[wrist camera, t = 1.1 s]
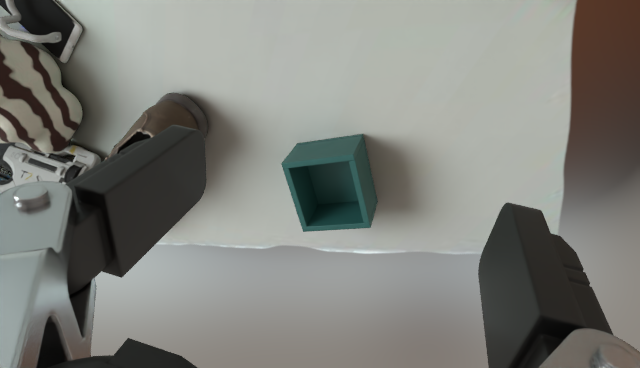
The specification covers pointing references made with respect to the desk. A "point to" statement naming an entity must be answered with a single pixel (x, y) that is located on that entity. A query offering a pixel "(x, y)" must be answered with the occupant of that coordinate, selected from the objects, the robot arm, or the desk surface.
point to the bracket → (3, 21)
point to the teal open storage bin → (331, 184)
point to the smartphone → (49, 24)
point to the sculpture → (34, 99)
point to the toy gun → (43, 164)
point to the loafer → (164, 120)
